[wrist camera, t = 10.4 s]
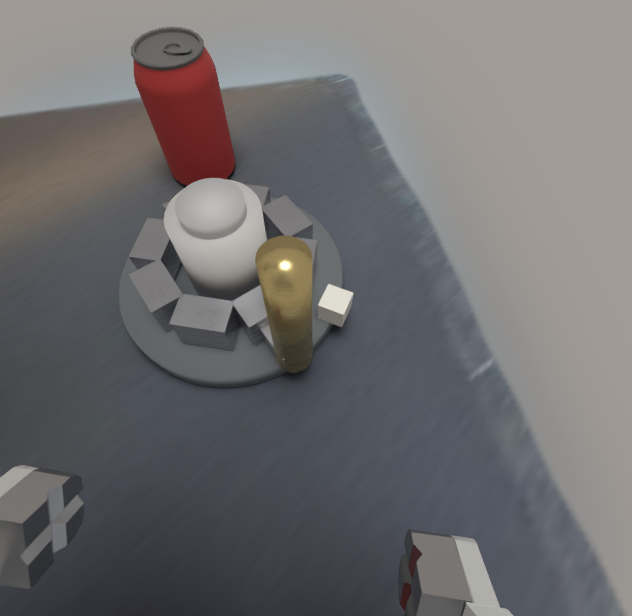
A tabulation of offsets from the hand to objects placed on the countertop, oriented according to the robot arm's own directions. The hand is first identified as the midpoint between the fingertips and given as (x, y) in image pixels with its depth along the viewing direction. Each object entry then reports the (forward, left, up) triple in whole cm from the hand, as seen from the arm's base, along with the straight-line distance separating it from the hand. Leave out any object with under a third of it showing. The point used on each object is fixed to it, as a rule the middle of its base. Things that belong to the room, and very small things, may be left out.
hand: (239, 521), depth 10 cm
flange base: (-9, +16, -17) cm, 25 cm away
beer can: (-17, +29, -18) cm, 38 cm away
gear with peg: (-7, +15, -15) cm, 23 cm away
